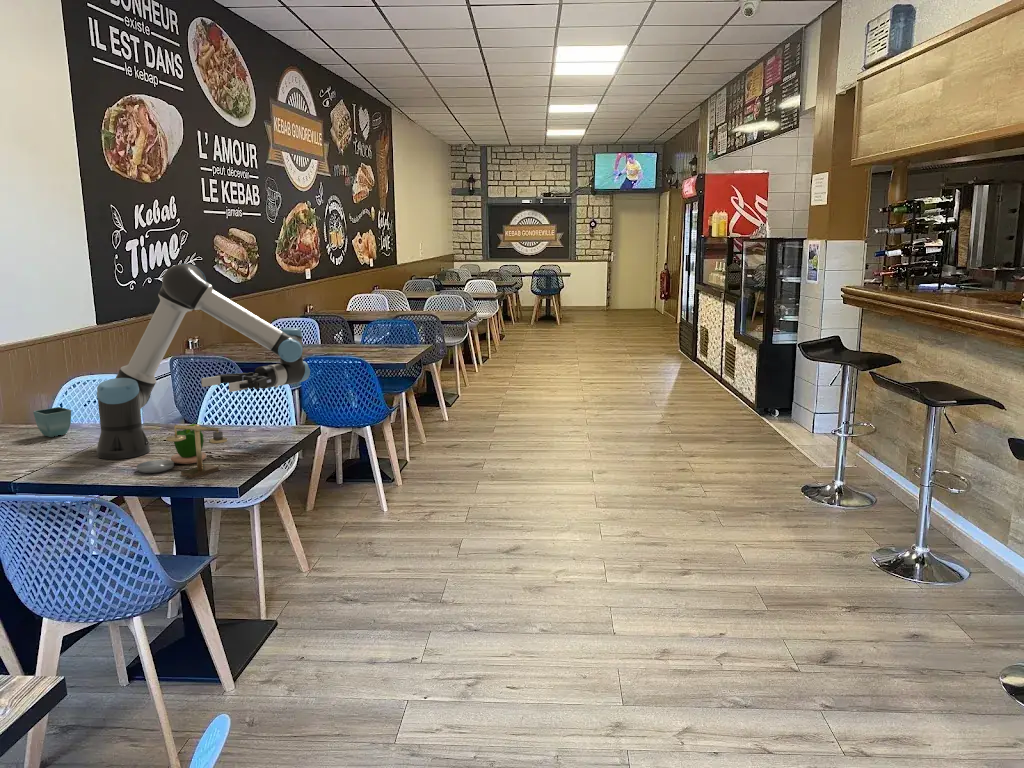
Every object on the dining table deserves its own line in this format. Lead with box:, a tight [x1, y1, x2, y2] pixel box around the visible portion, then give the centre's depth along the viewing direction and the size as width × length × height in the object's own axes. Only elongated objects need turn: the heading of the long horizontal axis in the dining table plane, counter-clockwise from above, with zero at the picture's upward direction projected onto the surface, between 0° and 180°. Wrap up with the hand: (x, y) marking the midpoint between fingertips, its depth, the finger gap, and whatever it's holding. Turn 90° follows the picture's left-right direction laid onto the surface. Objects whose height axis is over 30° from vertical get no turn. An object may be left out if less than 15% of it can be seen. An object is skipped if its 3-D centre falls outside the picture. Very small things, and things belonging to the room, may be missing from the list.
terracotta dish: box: [170, 451, 207, 465], centre depth 230 cm, size 10×10×2 cm
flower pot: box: [33, 406, 72, 438], centre depth 259 cm, size 9×9×9 cm
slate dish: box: [136, 459, 175, 474], centre depth 221 cm, size 10×10×2 cm
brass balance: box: [166, 424, 228, 479], centre depth 217 cm, size 5×18×16 cm, turn 148°
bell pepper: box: [173, 423, 204, 458], centre depth 229 cm, size 8×8×10 cm
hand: (215, 385), depth 235 cm, fingers open, 13 cm apart
